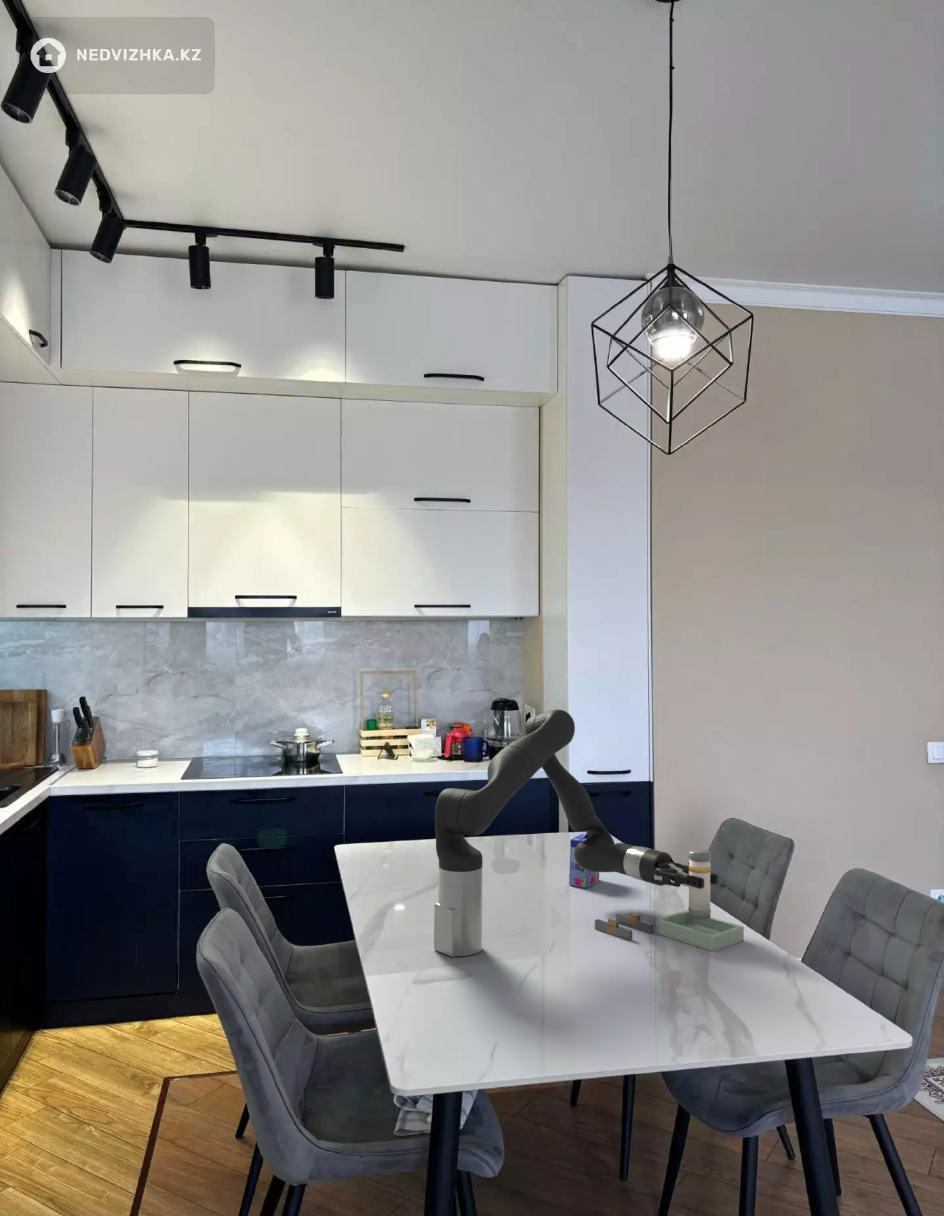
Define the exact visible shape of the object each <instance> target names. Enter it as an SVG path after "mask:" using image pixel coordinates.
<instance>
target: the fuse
mask: <svg viewBox="0 0 944 1216" xmlns="http://www.w3.org/2000/svg"><path fill="white" fill-rule="evenodd" d="M688 862H689V875H693V876H697V877H700V878H703V879H704V888H702V889H699V888H696V887H692V886H688V908H687V909H688V915H689V916H690V917H692V918H696V919H708V918H710V917H711V916H712V914H711V913H712V911H711V910H712V908H711V883H710V873H712V872H711V871H712V865H711V862H712V852H711V851H710V850H708V849H703V848H692V849H691V848H690V849H688Z"/></svg>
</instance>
